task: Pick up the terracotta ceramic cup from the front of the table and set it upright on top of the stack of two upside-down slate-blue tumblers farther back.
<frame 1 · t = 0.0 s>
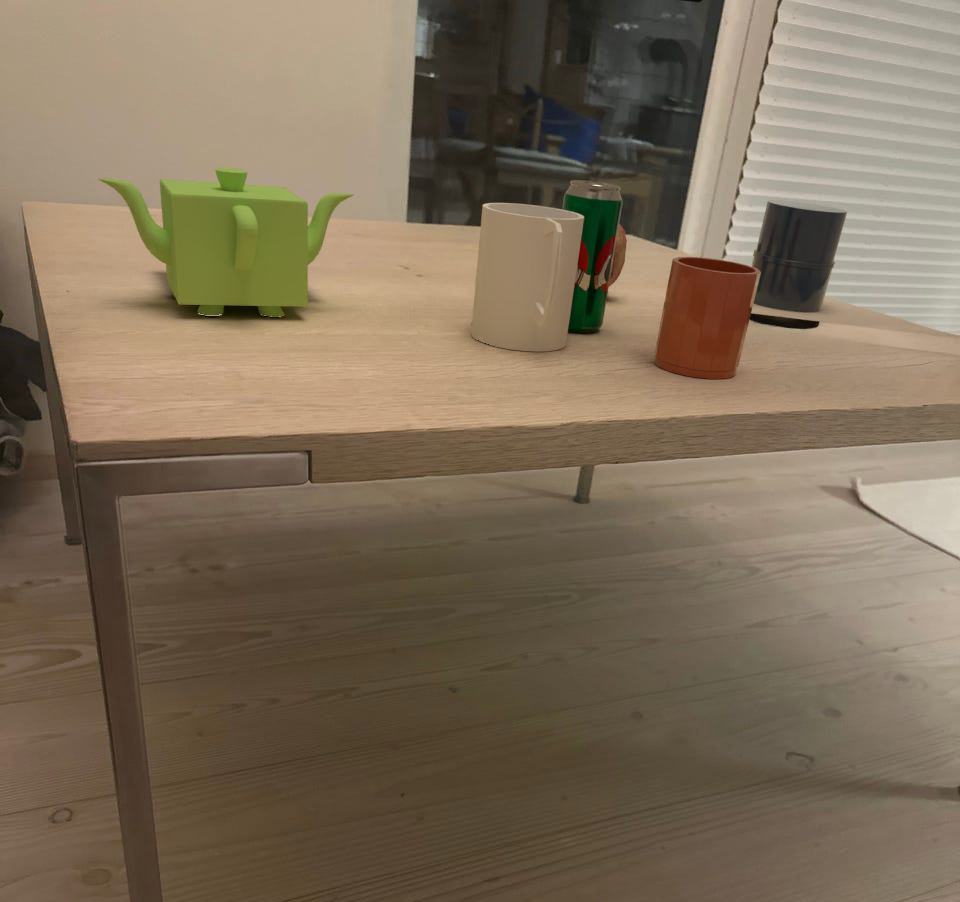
soda can: (573, 329, 85), on the table
teapot: (236, 309, 79), on the table
cup stack: (778, 319, 98), on the table
terracotta cup: (694, 367, 77), on the table
fruit: (582, 297, 99), on the table
cup: (524, 346, 78), on the table
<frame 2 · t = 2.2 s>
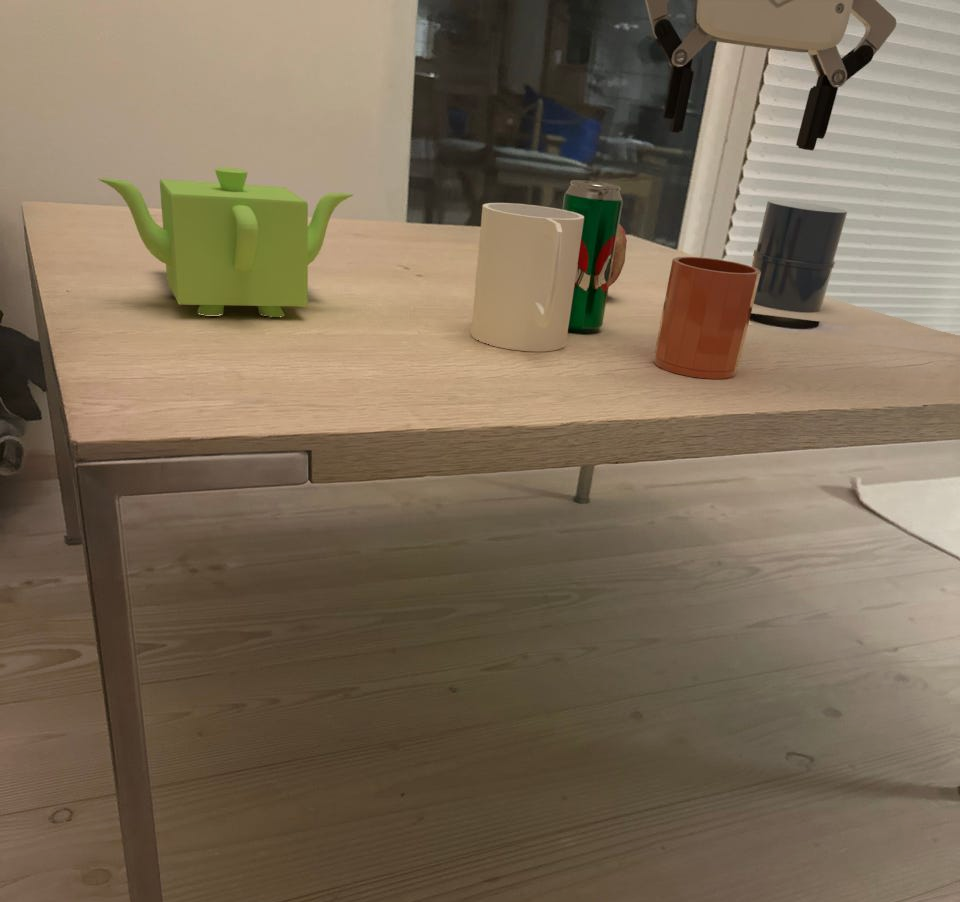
hand: (739, 140, 68), 17 cm above the table, tool pointing down, fingers open, 9 cm apart
nothing on the table moved.
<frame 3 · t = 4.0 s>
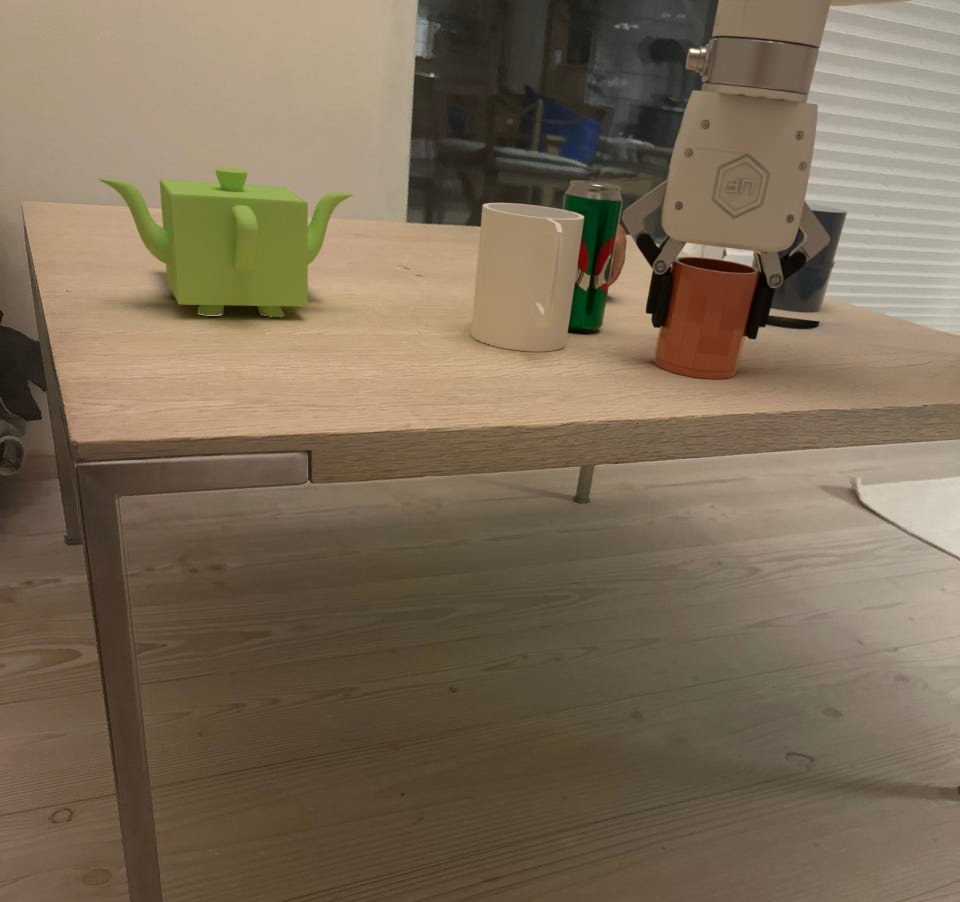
hand: (702, 328, 75), 3 cm above the table, tool pointing down, fingers closed on terracotta cup, 6 cm apart
terracotta cup: (694, 367, 77), on the table, touching gripper
everything else where it was.
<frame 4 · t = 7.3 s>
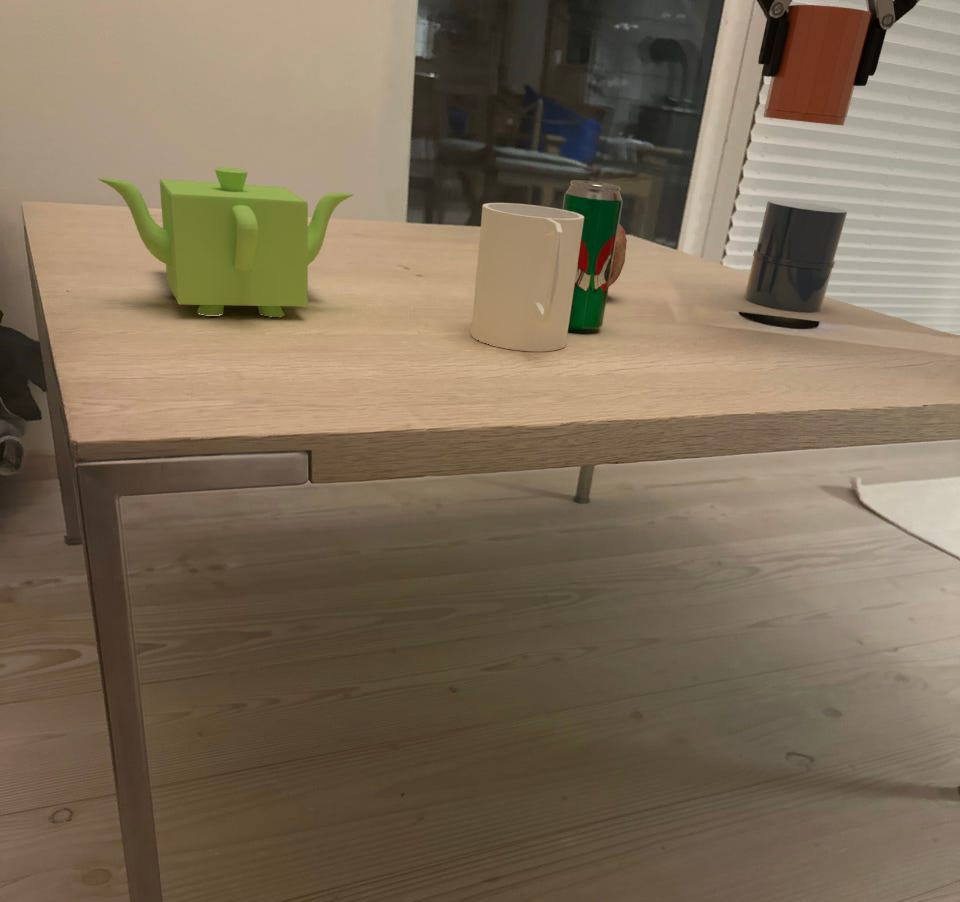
hand: (813, 78, 78), 21 cm above the table, tool pointing down, fingers closed on terracotta cup, 6 cm apart
terracotta cup: (803, 121, 80), point 18 cm above the table, touching gripper
everything else where it was.
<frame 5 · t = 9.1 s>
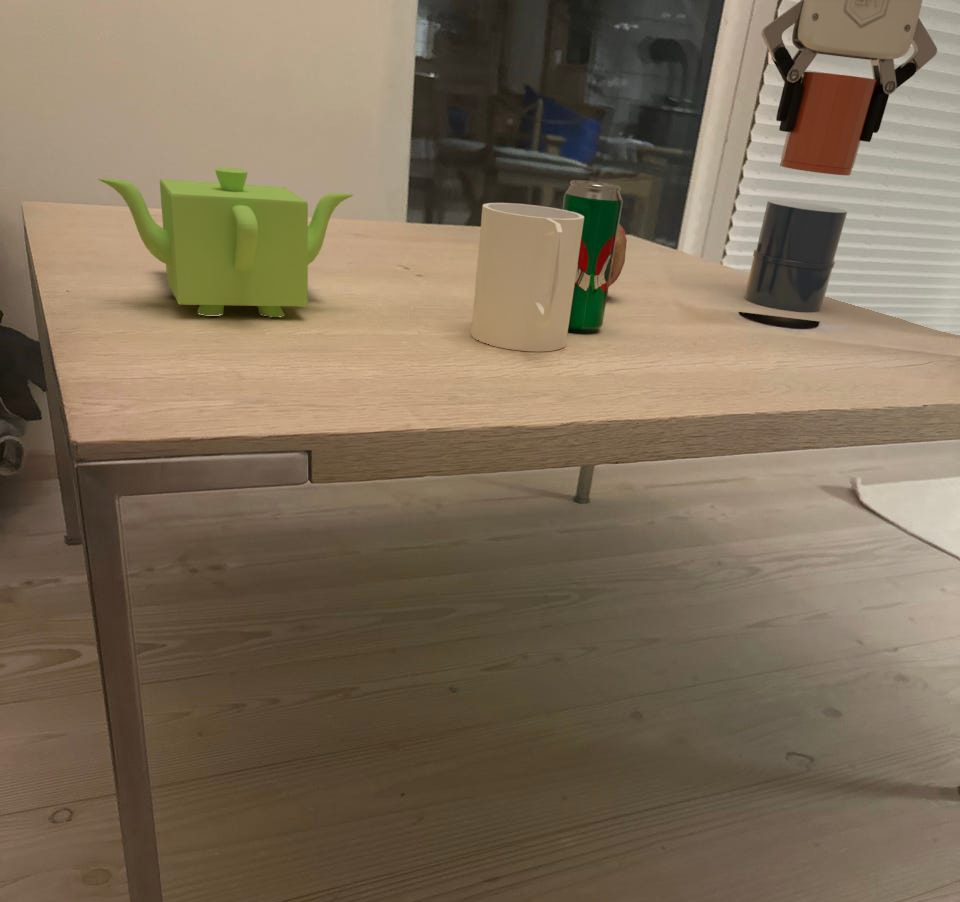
hand: (824, 134, 89), 17 cm above the table, tool pointing down, fingers closed on terracotta cup, 6 cm apart
terracotta cup: (814, 170, 91), point 14 cm above the table, touching gripper
everything else where it was.
when the fingers open (14 cm above the table, at t = 10.5 s): terracotta cup stays where it is, resting on cup stack.
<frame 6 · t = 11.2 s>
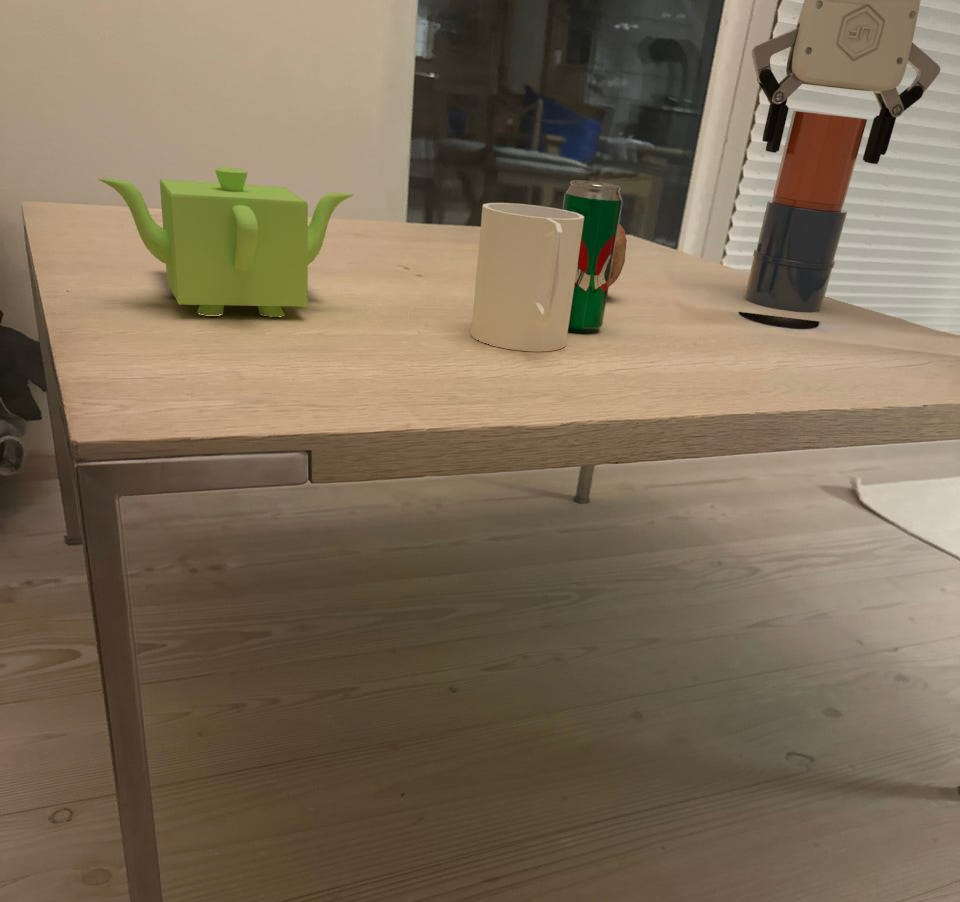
hand: (820, 157, 90), 15 cm above the table, tool pointing down, fingers open, 9 cm apart
terracotta cup: (806, 206, 93), point 11 cm above the table, touching cup stack
everything else where it was.
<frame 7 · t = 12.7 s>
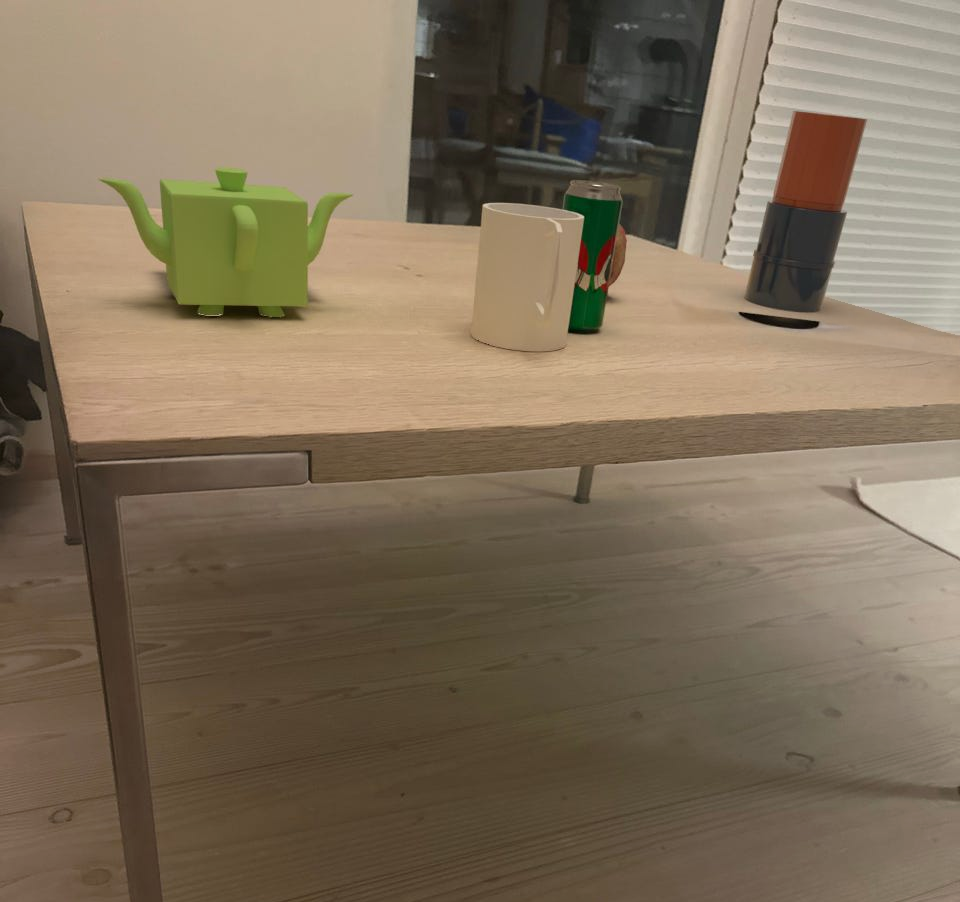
nothing on the table moved.
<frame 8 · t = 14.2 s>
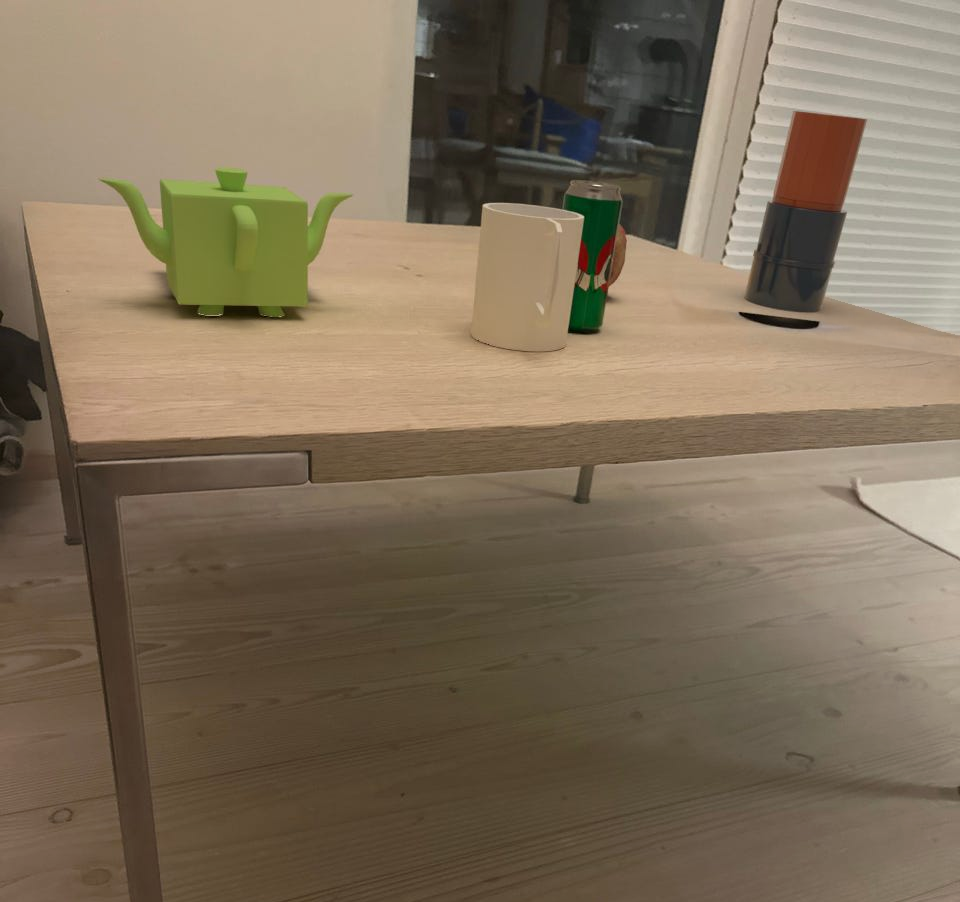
nothing on the table moved.
at the end: terracotta cup 0.1 cm off-centre on the cup stack, point 11.0 cm above the cup stack's base; terracotta cup tilted 0°; the gripper is holding nothing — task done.
